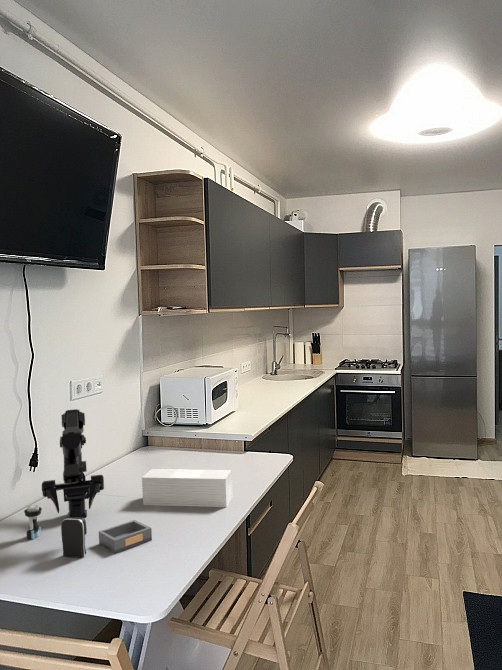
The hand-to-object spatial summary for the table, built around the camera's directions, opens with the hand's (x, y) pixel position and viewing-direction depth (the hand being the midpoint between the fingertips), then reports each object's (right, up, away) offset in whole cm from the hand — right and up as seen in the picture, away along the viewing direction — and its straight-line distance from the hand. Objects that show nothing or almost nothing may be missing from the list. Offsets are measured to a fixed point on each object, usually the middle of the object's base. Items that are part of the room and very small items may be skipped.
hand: (74, 510), depth 176 cm
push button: (-16, -12, +11) cm, 23 cm away
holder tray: (+15, -11, +4) cm, 19 cm away
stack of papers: (+31, -9, +39) cm, 51 cm away
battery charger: (+2, -12, -4) cm, 13 cm away
